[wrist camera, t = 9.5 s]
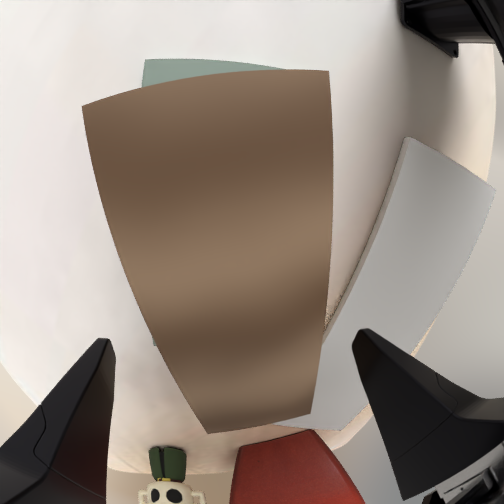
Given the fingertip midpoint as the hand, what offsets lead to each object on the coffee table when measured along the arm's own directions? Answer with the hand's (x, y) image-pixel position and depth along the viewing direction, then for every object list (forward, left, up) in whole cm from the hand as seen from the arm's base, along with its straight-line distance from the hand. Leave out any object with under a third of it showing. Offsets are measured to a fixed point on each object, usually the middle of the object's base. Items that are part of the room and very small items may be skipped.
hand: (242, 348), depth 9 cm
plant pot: (-12, +42, -10) cm, 45 cm away
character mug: (+7, +39, -10) cm, 41 cm away
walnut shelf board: (0, 0, -5) cm, 5 cm away
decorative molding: (-15, +10, -11) cm, 21 cm away
